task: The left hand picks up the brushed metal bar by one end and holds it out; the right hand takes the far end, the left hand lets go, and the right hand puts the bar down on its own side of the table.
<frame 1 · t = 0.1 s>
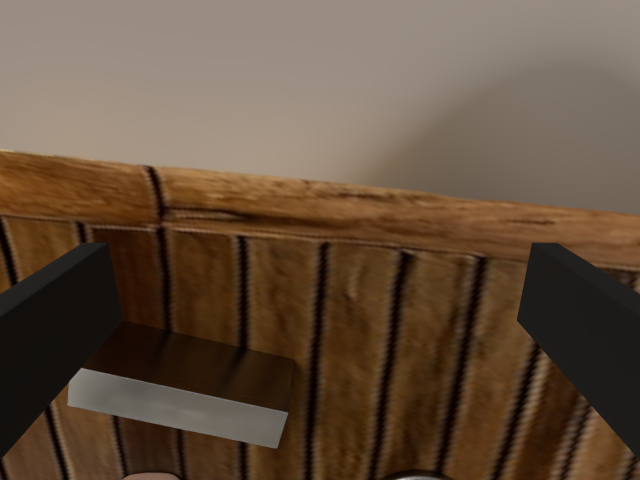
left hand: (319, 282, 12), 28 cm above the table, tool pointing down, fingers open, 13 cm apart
bar: (202, 356, 47), on the table
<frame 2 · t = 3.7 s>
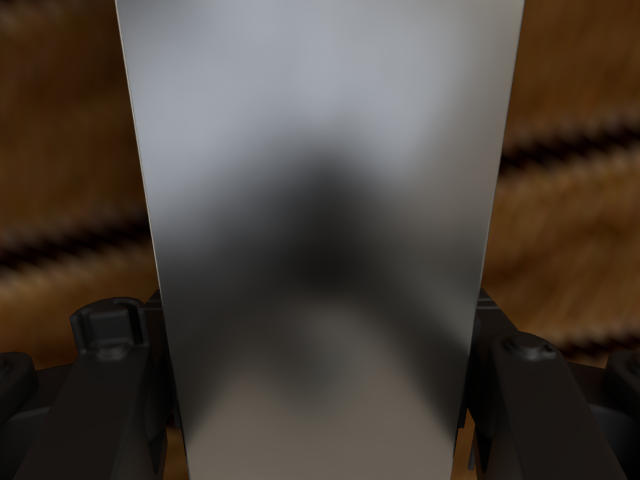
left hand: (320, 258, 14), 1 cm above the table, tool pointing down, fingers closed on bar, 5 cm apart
bar: (319, 44, 12), on the table, touching left hand
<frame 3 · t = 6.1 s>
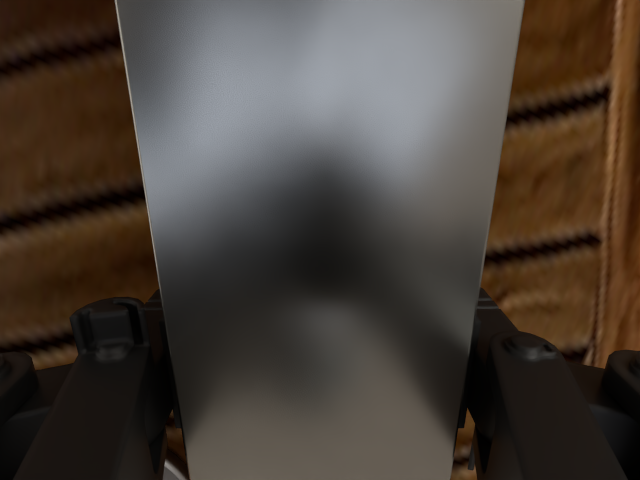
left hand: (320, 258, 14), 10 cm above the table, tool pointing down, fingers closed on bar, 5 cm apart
bar: (319, 43, 12), point 10 cm above the table, touching left hand
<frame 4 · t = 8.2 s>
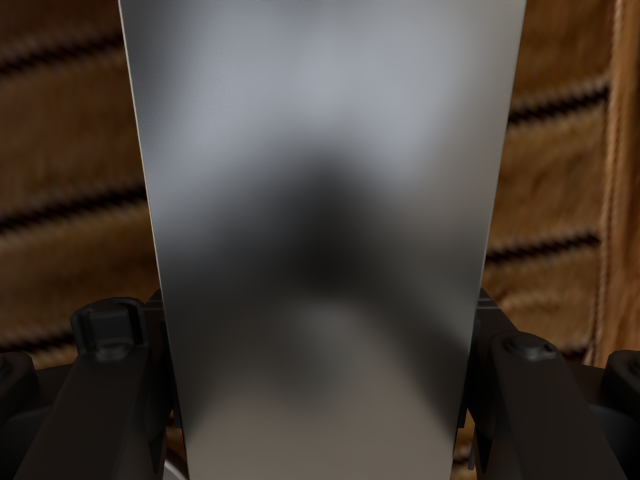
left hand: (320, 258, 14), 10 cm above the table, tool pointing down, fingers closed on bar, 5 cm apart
bar: (320, 43, 12), point 10 cm above the table, touching left hand, right hand
when the left hand's fingers open (10 cm above the table, at t = 8.7 s): bar stays where it is, held by the right hand.
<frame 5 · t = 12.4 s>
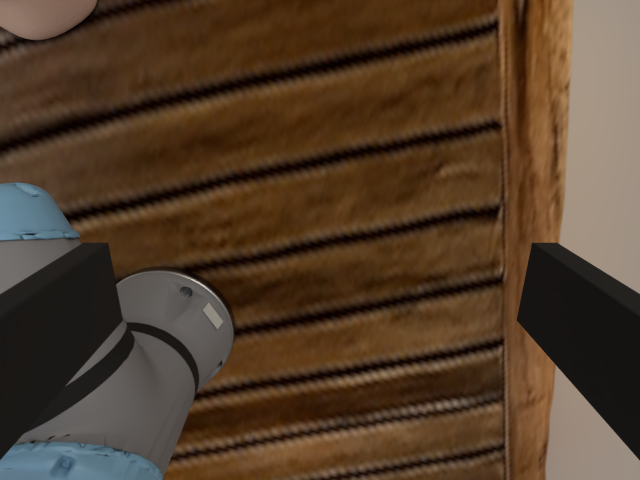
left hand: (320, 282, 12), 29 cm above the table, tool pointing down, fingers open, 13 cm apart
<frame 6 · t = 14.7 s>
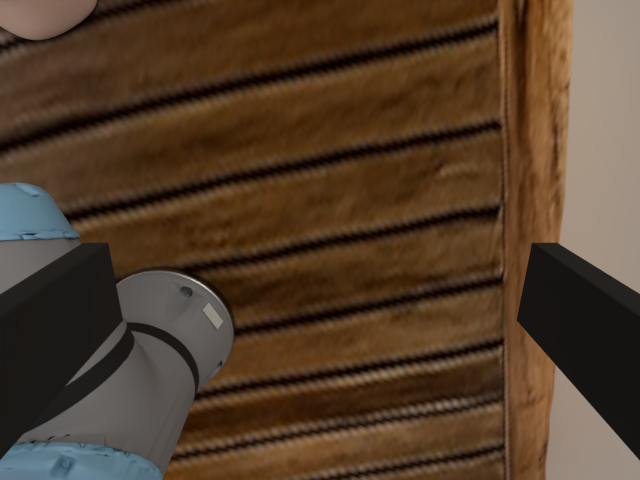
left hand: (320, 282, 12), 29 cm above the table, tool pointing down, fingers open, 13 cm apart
when the right hand's fingers open (2 cm above the table, at t = 16.6 s): bar stays where it is, on the table.
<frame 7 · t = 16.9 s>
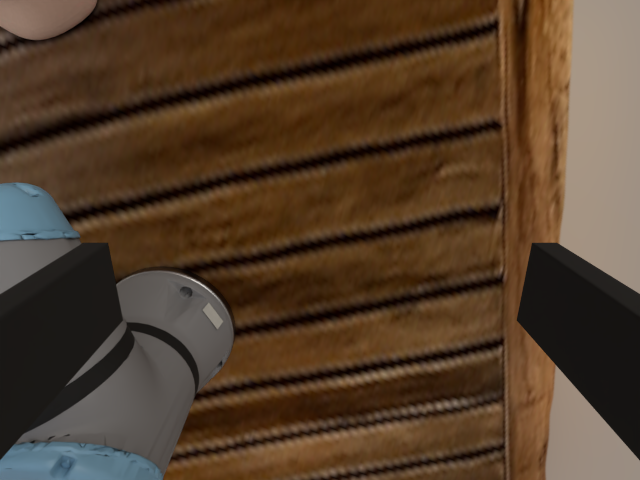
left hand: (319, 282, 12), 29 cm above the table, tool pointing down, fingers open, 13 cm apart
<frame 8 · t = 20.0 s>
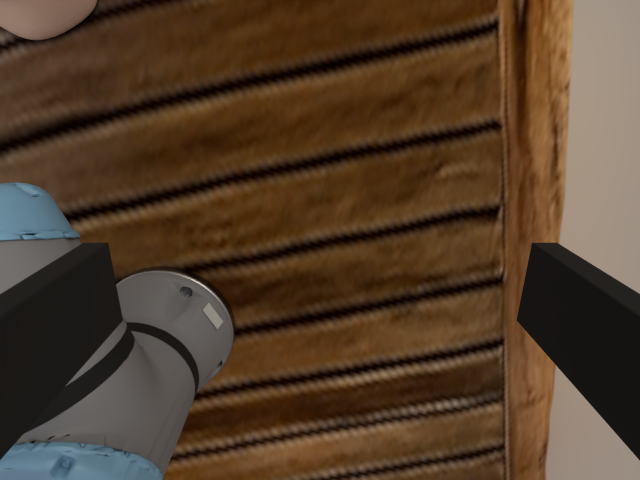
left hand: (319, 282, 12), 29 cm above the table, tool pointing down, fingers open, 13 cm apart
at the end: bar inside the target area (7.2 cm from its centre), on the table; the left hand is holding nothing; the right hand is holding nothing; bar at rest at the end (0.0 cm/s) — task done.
